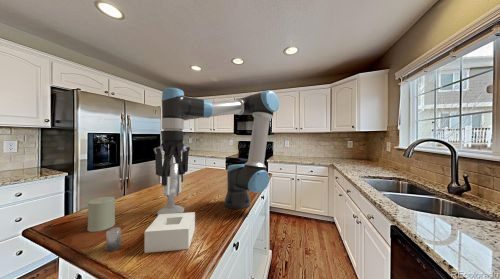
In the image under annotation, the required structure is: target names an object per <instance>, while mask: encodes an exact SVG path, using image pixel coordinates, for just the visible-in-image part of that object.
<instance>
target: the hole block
mask: <svg viewBox="0 0 500 279" xmlns="http://www.w3.org/2000/svg"><path fill="white" fill-rule="evenodd" d="M195 230H196V212H195V211H193V212H192V211H191V212H183V213H172V214H159V215H157V217H156V218H155V219H154V220H153V221H152V222H151V224H150V225H149V226H148V227H147V228H146V229H145V231H144V253H145V254H147V253H148V254H149V253H156V252H157V253H158V252H170V251H172V252H173V251H181V250H183V251H184V250H189V248H190V246H191V242H192V239H193V236H194V233H195Z"/></svg>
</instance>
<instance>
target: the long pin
mask: <svg viewBox="0 0 500 279" xmlns="http://www.w3.org/2000/svg"><path fill="white" fill-rule="evenodd" d="M178 167H179V163H176V162H173V163H170V166H169V171H168V176H169V177H170V195H166V197H167V198H168V197H174V198H177V197H178V196H179V192H178Z"/></svg>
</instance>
